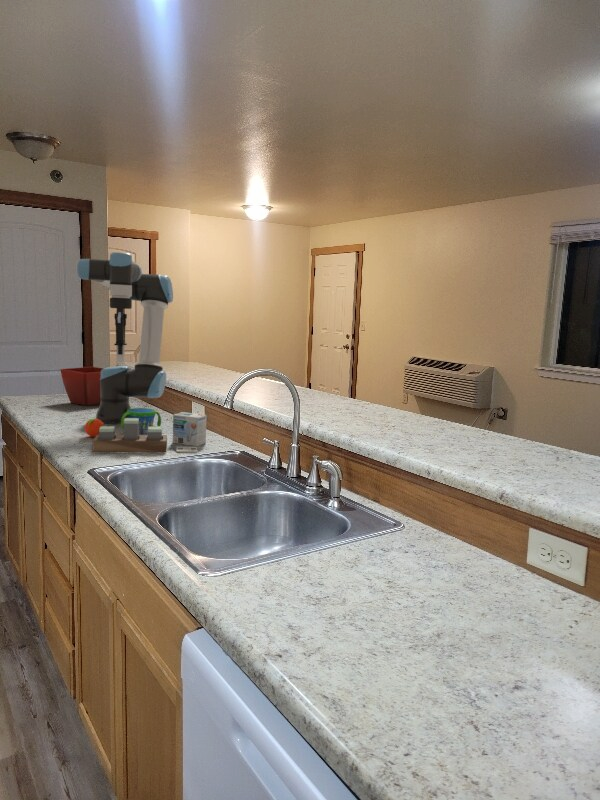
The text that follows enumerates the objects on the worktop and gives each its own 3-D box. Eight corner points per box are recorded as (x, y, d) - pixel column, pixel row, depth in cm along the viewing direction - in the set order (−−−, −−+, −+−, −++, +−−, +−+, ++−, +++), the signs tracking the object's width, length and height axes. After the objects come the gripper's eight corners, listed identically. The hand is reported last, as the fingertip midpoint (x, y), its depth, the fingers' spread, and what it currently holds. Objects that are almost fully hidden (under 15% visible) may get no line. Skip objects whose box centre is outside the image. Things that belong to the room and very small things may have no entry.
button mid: (124, 437, 209) (125, 418, 208) (138, 437, 210) (138, 418, 209) (123, 440, 205) (123, 420, 204) (137, 440, 206) (137, 420, 205)
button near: (101, 445, 208) (101, 426, 207) (114, 445, 209) (114, 426, 208) (99, 449, 204) (99, 428, 203) (113, 449, 205) (113, 429, 204)
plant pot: (85, 408, 283) (84, 372, 280) (59, 403, 293) (59, 368, 290) (117, 403, 299) (117, 370, 296) (92, 399, 309) (92, 366, 306)
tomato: (96, 440, 219) (96, 421, 218) (79, 438, 220) (79, 419, 219) (107, 435, 227) (107, 417, 226) (91, 434, 228) (91, 415, 227)
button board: (97, 445, 211) (97, 434, 210) (166, 445, 215) (167, 435, 215) (92, 452, 201) (92, 440, 200) (166, 452, 206) (166, 441, 205)
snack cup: (156, 432, 237) (156, 406, 236) (165, 437, 229) (166, 411, 227) (116, 435, 229) (116, 408, 227) (125, 440, 220) (125, 413, 219)
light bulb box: (171, 443, 220) (172, 414, 219) (181, 439, 227) (182, 411, 225) (197, 446, 217) (198, 417, 215) (206, 443, 223) (207, 414, 221)
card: (176, 448, 212) (176, 446, 212) (196, 448, 213) (196, 446, 213) (176, 452, 206) (176, 450, 206) (197, 452, 208) (197, 450, 207)
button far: (148, 446, 211) (148, 426, 210) (161, 446, 212) (162, 426, 211) (147, 449, 207) (147, 429, 206) (161, 449, 208) (161, 429, 207)
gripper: (111, 296, 218) (111, 361, 222) (107, 296, 206) (107, 364, 209) (133, 298, 220) (132, 362, 223) (130, 297, 207) (129, 365, 211)
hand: (120, 363), depth 216 cm, fingers closed
